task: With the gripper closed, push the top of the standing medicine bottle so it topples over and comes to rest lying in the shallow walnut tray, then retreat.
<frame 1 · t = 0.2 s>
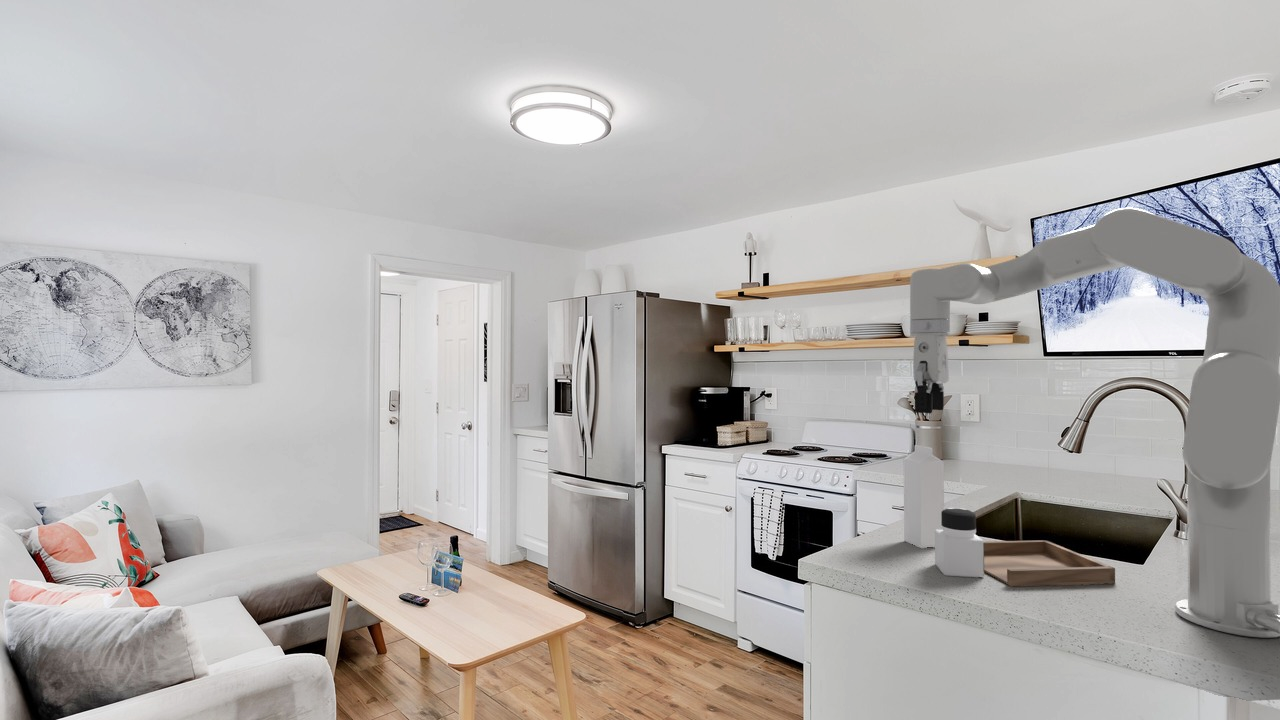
hand: (929, 411, 130), 31 cm above the counter, tool pointing down, fingers open, 9 cm apart
walnut tray: (1029, 569, 123), on the counter
milk: (923, 544, 141), on the counter
medicine bottle: (958, 572, 123), on the counter
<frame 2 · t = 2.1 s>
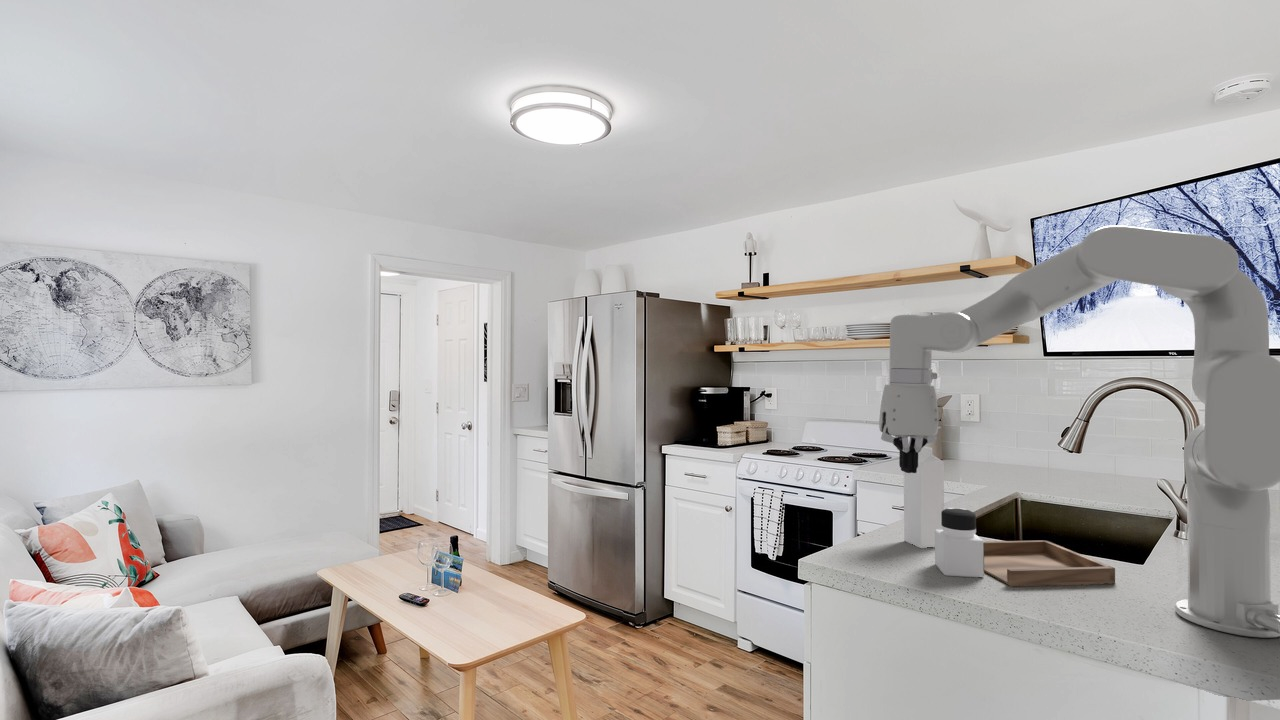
hand: (908, 471, 122), 20 cm above the counter, tool pointing down, fingers closed
nothing on the counter moved.
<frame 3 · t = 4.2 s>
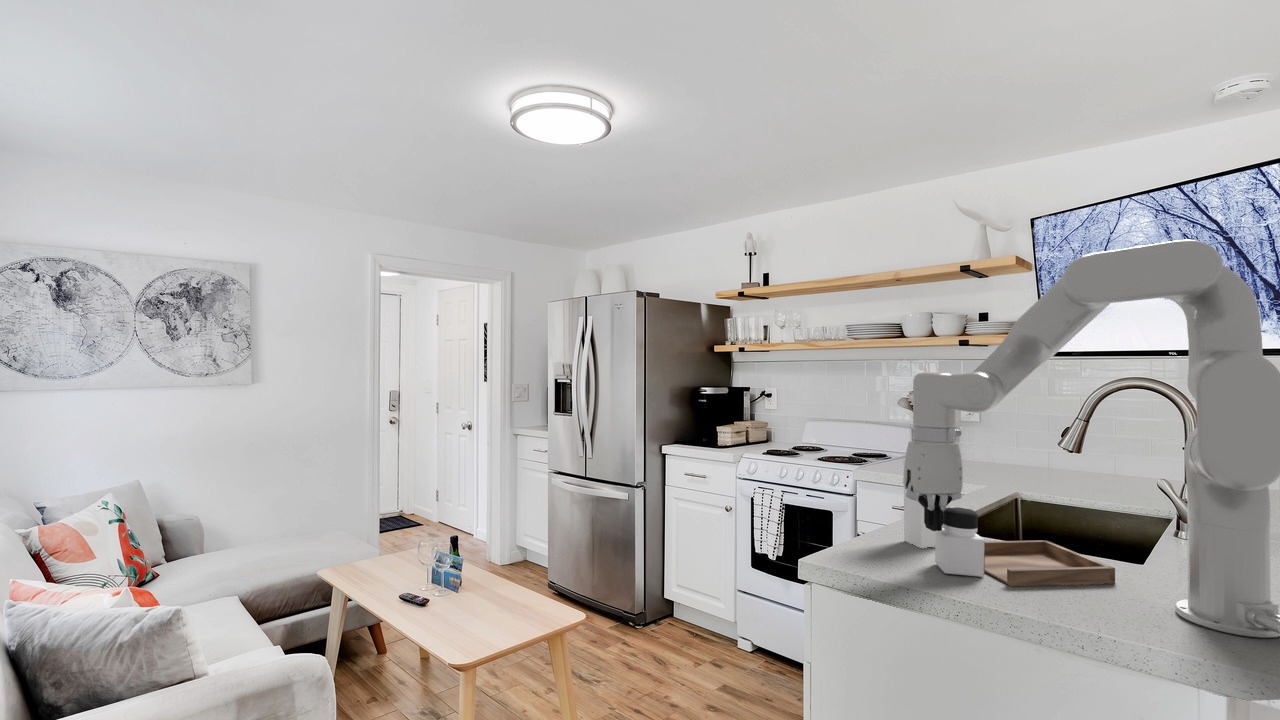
hand: (933, 529, 122), 8 cm above the counter, tool pointing down, fingers closed
medicine bottle: (958, 571, 123), on the counter, touching gripper
everything else where it was.
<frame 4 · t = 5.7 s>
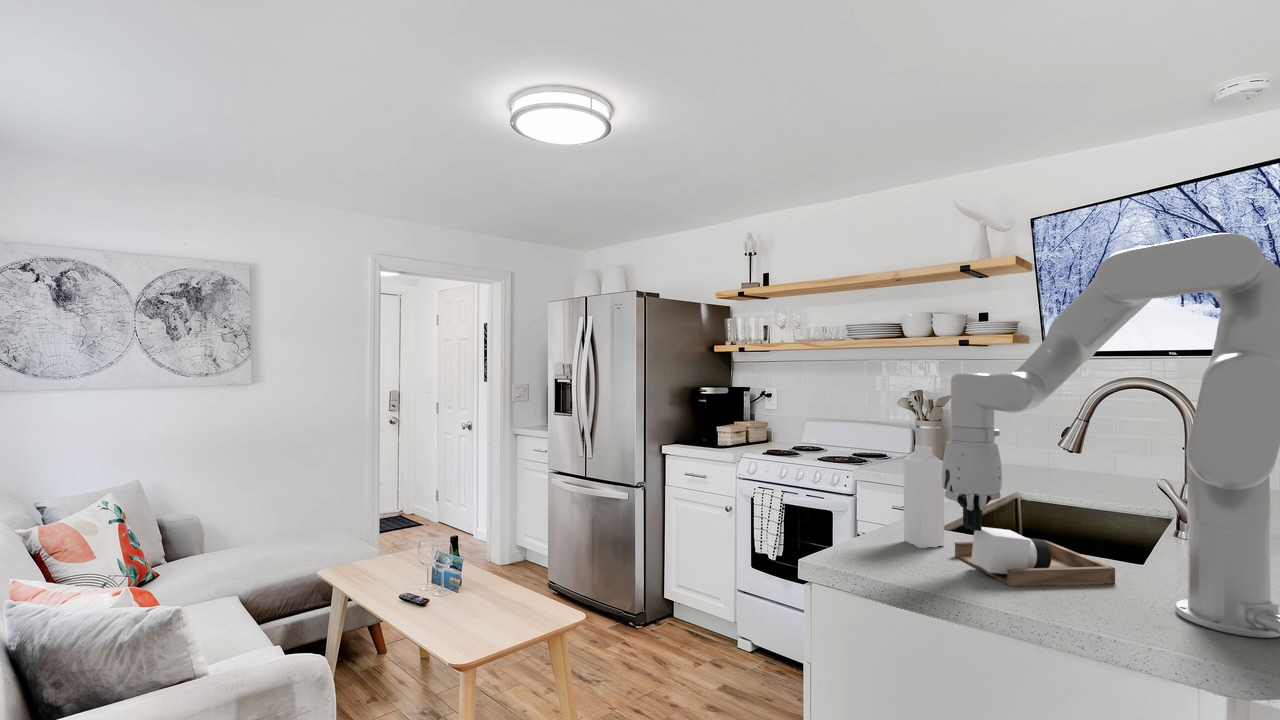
hand: (972, 528, 123), 8 cm above the counter, tool pointing down, fingers closed
medicine bottle: (980, 548, 121), point 5 cm above the counter, touching gripper, walnut tray
everything else where it was.
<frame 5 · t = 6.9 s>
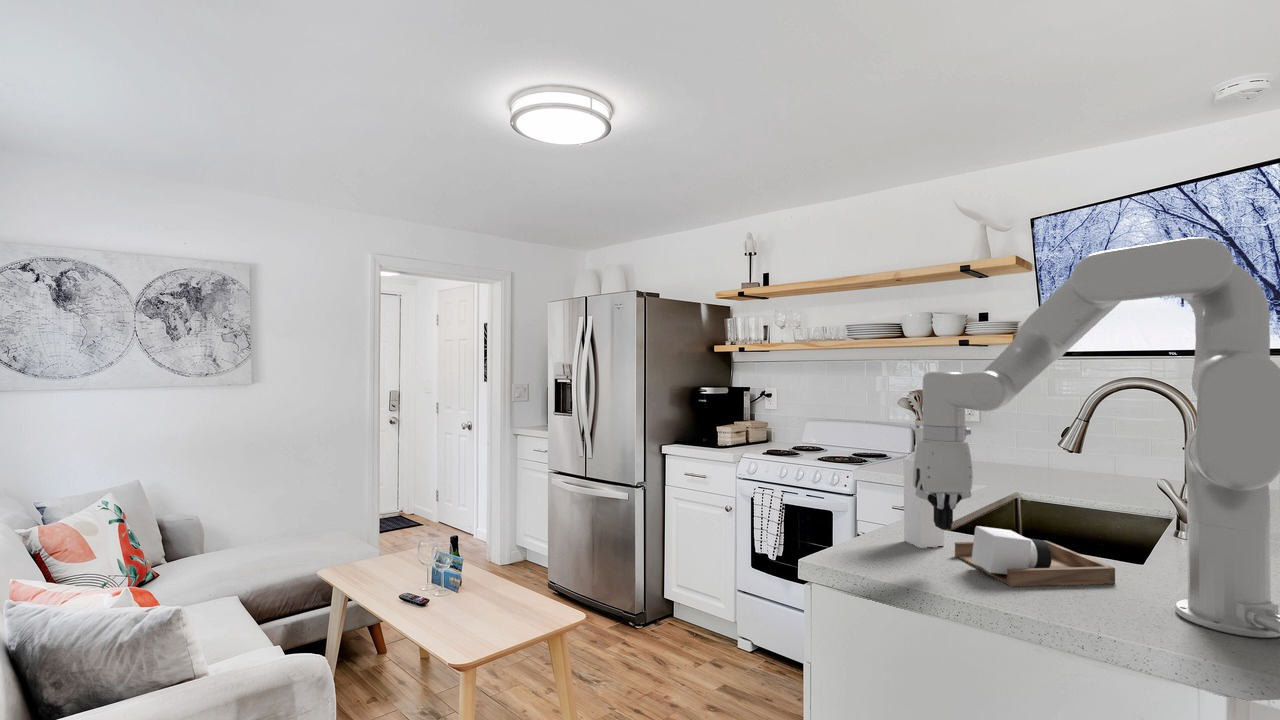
hand: (943, 527, 123), 8 cm above the counter, tool pointing down, fingers closed
medicine bottle: (980, 548, 121), point 5 cm above the counter, touching walnut tray
everything else where it was.
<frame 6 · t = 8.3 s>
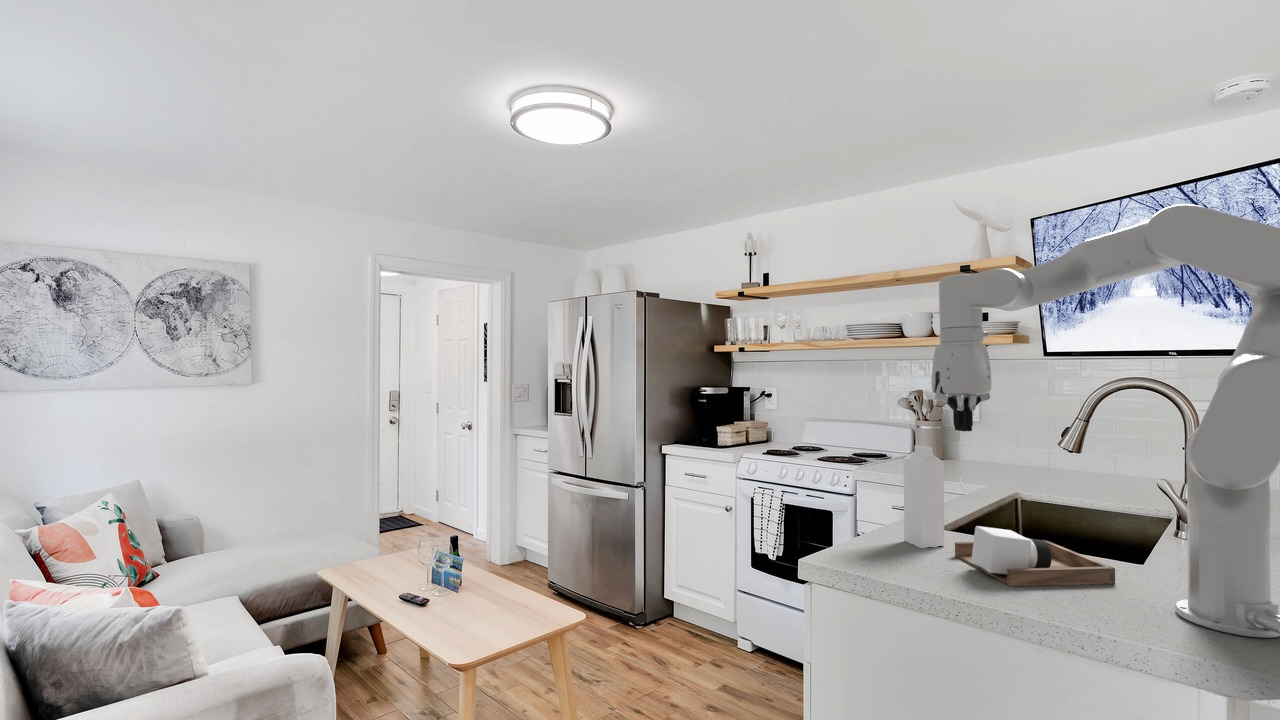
hand: (963, 430, 123), 27 cm above the counter, tool pointing down, fingers closed
nothing on the counter moved.
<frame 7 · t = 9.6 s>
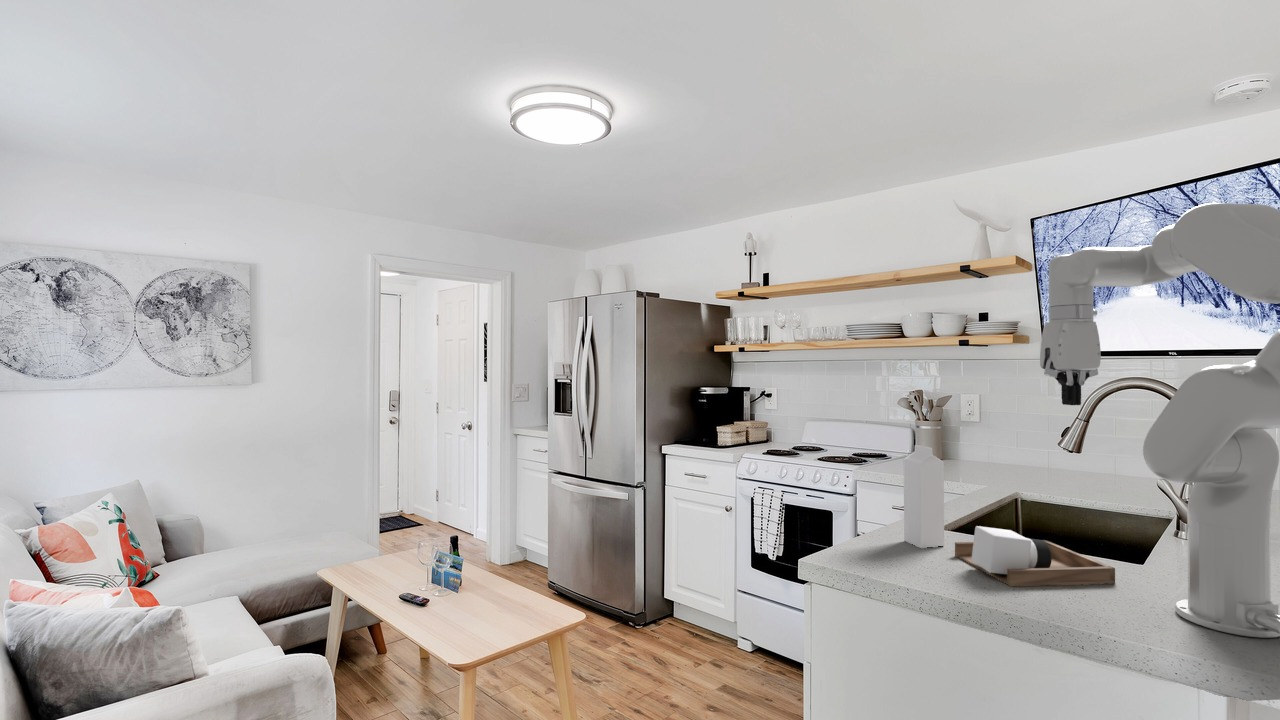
hand: (1071, 404, 128), 32 cm above the counter, tool pointing down, fingers closed
nothing on the counter moved.
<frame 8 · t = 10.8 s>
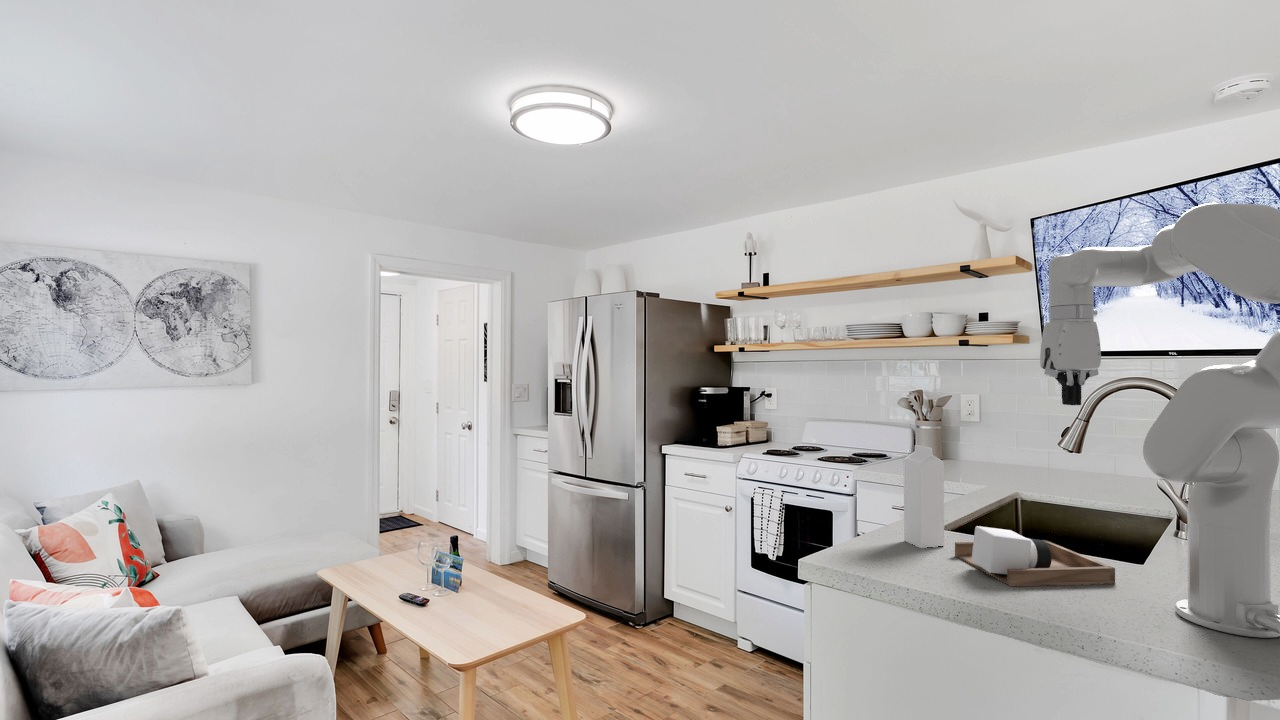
hand: (1071, 404, 128), 32 cm above the counter, tool pointing down, fingers closed
nothing on the counter moved.
at the end: medicine bottle tilted 97°; medicine bottle 11.4 cm from the walnut tray (horizontally); medicine bottle point 4.9 cm above the counter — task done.
